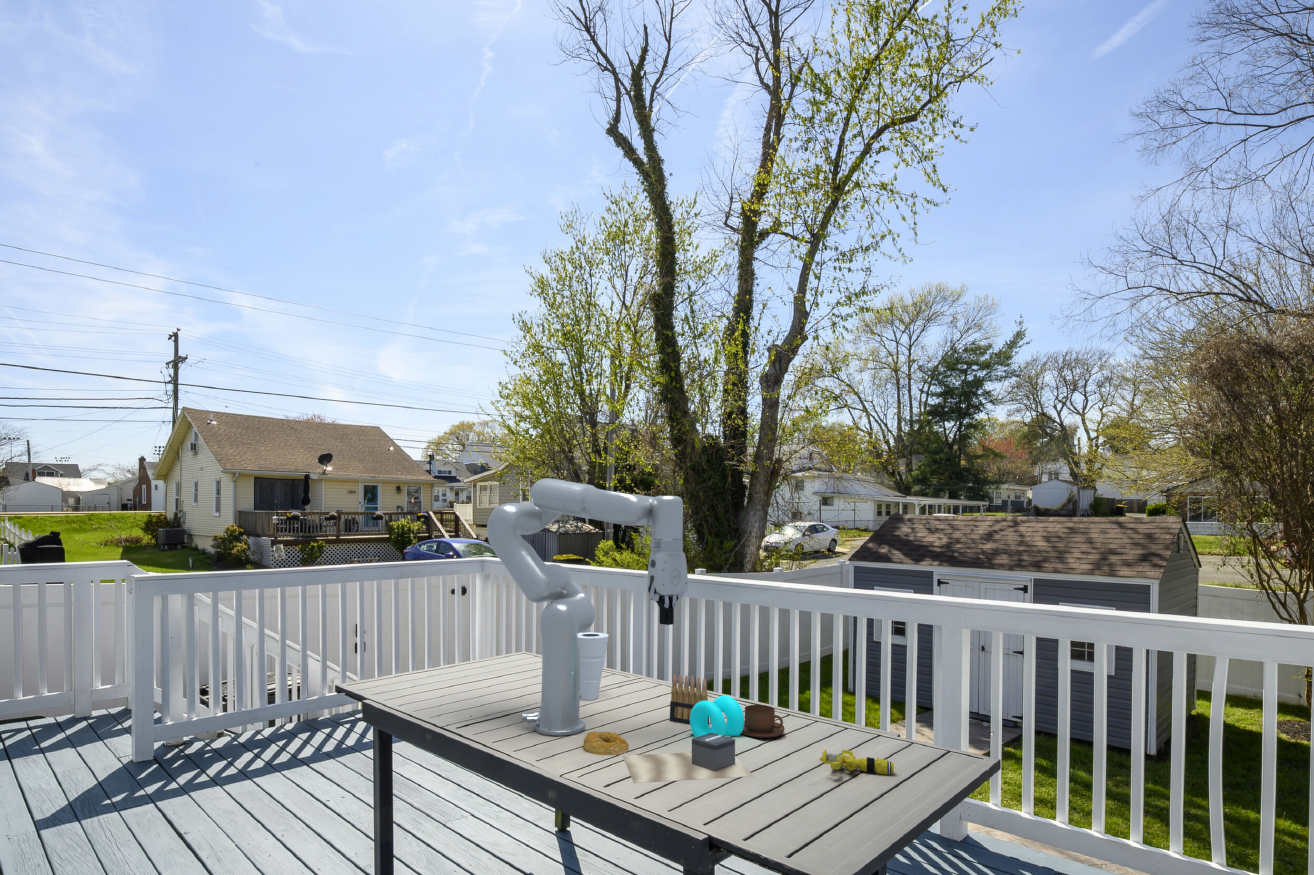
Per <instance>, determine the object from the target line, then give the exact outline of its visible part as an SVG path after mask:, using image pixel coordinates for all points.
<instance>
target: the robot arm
mask: <svg viewBox="0 0 1314 875" xmlns="http://www.w3.org/2000/svg"><path fill="white" fill-rule="evenodd" d="M529 496H530V501H529V502H528V503H526V502H506V503H503V504H500V505H498V506H496V507H495V508H494V509H493V511H492V512H491V513H490V515H489V518H488V519H487V525H486V534H487V540H488V543H489V546H490V547H491V548H492V550H493V552H494V553H495V555H496V556H497V557H498V559H499V561H501V563H502V564H503V565H504V567H505V568H506V569H507V571H508V573H509V574H510V576H511V577H512V579H513V580H514V582H515V583H516V585H517V586H518V587H519V588H520V590H521V592H522V594H523V595H524V596H525V598H526V599H527V600H529V601H530V602H532V603H535V604H540V603H541V604H542V603H546V602H547V603H548V602H549V603H548V604H546V605H545V607H544V608H543V609H542V611H541V614H540V617H539V618H540V619H539V629H540V634H541V635H540V636H541V648H542V654H541V656H542V658H541V659H542V660H541V661H542V662H541V663H542V664H541V666H542V668H541V698H540V699H541V700H540V707H539V709H538V710H536V711H534V712H522V714H521V715H522V716H521V718H522V720H521V721H522V722H526V723H534V725H533V728H534V731H535V732H536V733H538V734H540V735H541V734H542V735H545V736H555V737H556V736H557V737H559V736H560V737H561V736H571V735H576V734H578V733H581V732H584V730H585V729H586V722H585V721H584V720H582V719H580V700H581V695H580V646H579V642H578V636H577V634H578V633H584V632H586V631H587V630H588V629H590V628H591V627H592V626H593V624H594V622H595V619H596V611H595V610H596V609H595V607H594V604H593V603H592V600H590V598H589V595H587V593H586V592H585V591H584V590H583V588H582V587H581V585H580V584H579V582H578V581H577V580H576V579H575V577H574V576H573V574H572V573H571V572H570V571H569V570H568V569H567V568H565V567H564V566H562V565H560V564H555V563H550V564H547V563H545V561H543V560H542V558H541V557H540V556H539V555H538V553H537V551H536V550H535V548H533V546H532V545H531V544H530V543H529V542H527V541H526V540H525V539H524V538H523V537H522V536H524V535H528V536H529V535H533V534H536V533H538V532H540V531H542V530H543V529H545V528H546V527H547V526H549V525H551V524H552V523H553V522H555V521H556V520H557V519H558V518H560V517H561V516H563V515H569V516H571V517H577V518H583V519H587V520H589V519H591V520H596V521H601V522H604V523H605V522H606V523H612V524H617V525H622V526H637V527H638V526H648V525H651V543H650V545H649V546H650V548H651V552H650V554H649V559H648V560H649V561H648V566H647V567H648V568H647V579H646V580H647V581H646V583H647V584H646V586H647V591H648V593H649V598H648V599H649V600H650V601H654V602H655V603H656V604H657V607H658V608H659V617H658V618H659V624H660V625H663V626H664V625H665V626H669V625H672V626H673V625H674V624H675V622H674V621H675V620H674V619H675V618H674V617H675V616H674V614H675V613H674V610H675V608H676V604H677V602H678V601H679V600H680V599H682V598H684V594H686V593H688V590H689V583H688V582H689V578H688V565H687V557H686V554H685V552H684V551H683V549H684V547H683V543H684V541H683V540H684V539H683V535H684V534H683V533H684V532H683V527H684V523H683V522H684V521H683V520H684V518H683V517H684V516H683V515H684V509H683V508H684V503H683V499H682V497H680V496H678V495H657V496H649V495H640V494H632V493H624V492H617V491H612V490H606V489H600V488H597V487H595V485H592V484H589V483H588V484H587V483H581V482H580V483H579V482H573V481H567V480H563V479H559V478H557V479H556V478H547V477H546V478H545V477H544V478H542V479H539V480H537V481H536V482H534V483H533V485H532V486H531V488H530V494H529Z"/></svg>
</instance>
